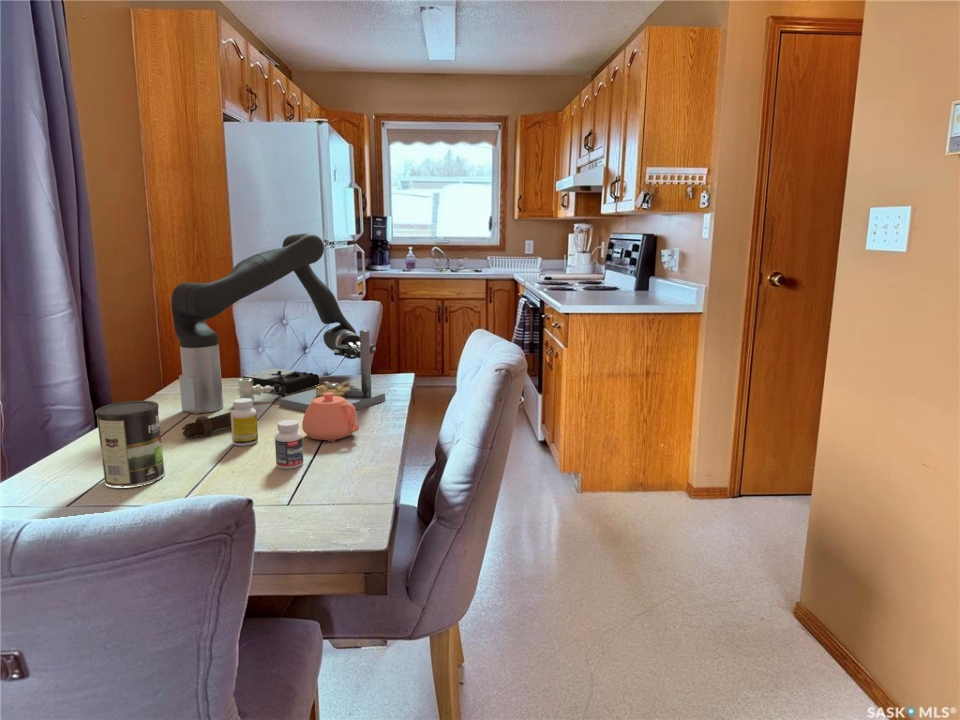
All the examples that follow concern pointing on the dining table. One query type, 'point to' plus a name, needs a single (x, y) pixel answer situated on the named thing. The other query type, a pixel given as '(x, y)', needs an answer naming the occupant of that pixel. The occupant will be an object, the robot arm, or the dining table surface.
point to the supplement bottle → (244, 423)
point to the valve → (259, 388)
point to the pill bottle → (289, 445)
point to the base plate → (305, 398)
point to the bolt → (207, 425)
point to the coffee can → (130, 443)
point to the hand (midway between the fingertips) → (361, 354)
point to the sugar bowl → (329, 418)
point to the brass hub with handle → (365, 390)
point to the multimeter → (291, 378)
